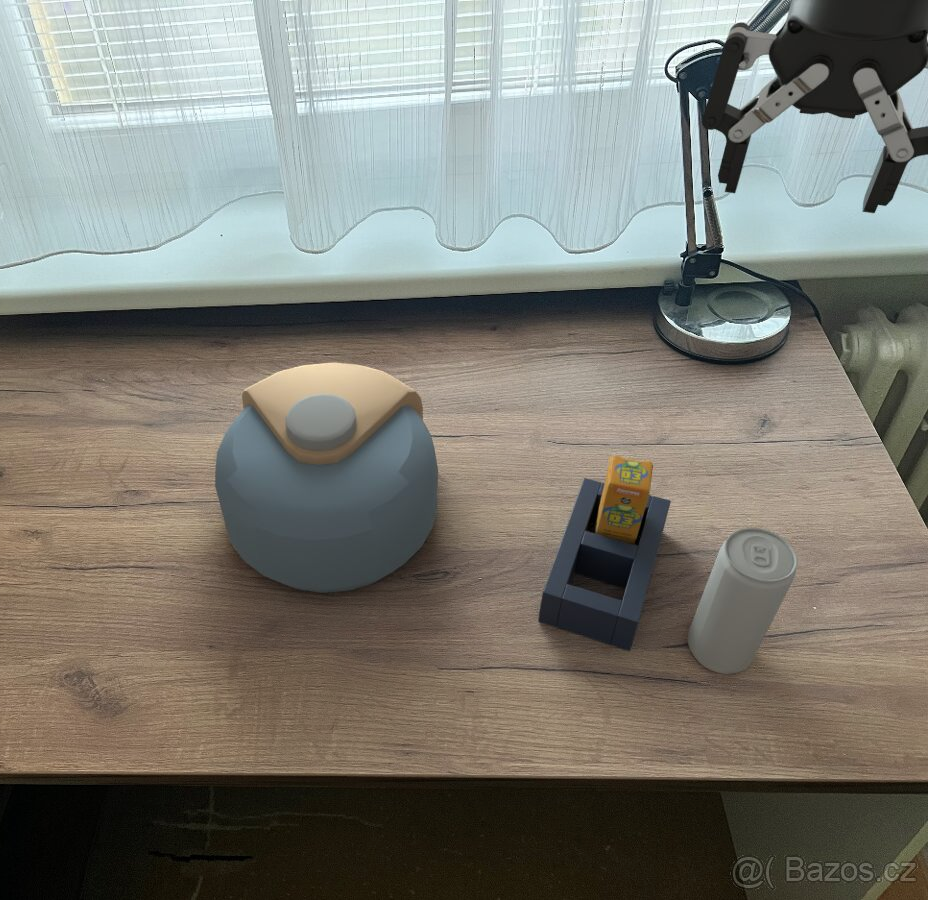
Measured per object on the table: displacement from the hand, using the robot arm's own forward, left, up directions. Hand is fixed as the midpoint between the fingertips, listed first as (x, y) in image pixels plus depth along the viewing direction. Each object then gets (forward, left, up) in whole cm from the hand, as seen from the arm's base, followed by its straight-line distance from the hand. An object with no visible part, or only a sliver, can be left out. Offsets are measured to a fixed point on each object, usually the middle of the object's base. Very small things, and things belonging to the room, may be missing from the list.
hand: (798, 197), depth 59 cm
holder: (+6, +14, -28) cm, 32 cm away
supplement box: (+6, +11, -28) cm, 31 cm away
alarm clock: (+30, +16, -28) cm, 44 cm away
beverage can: (-4, +18, -28) cm, 34 cm away
